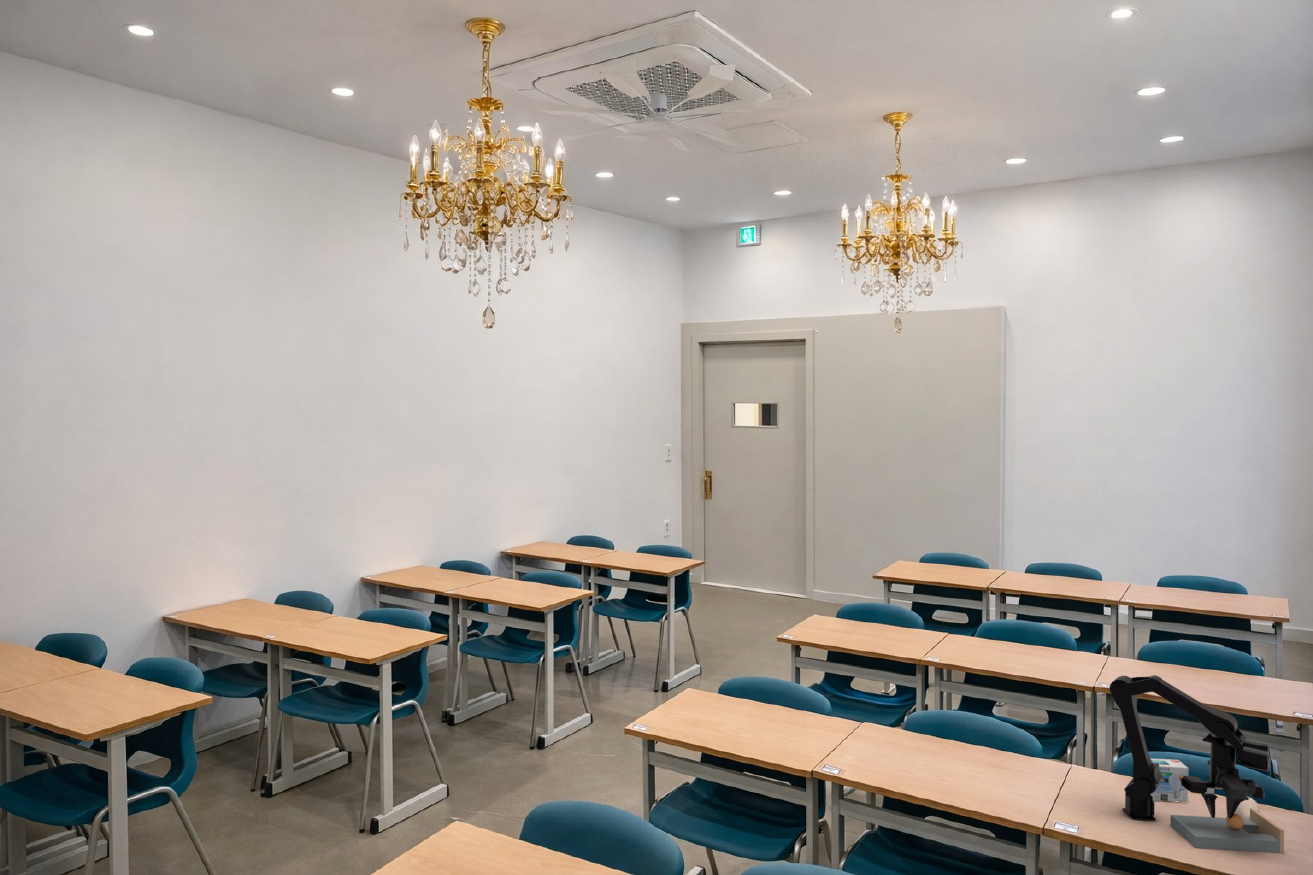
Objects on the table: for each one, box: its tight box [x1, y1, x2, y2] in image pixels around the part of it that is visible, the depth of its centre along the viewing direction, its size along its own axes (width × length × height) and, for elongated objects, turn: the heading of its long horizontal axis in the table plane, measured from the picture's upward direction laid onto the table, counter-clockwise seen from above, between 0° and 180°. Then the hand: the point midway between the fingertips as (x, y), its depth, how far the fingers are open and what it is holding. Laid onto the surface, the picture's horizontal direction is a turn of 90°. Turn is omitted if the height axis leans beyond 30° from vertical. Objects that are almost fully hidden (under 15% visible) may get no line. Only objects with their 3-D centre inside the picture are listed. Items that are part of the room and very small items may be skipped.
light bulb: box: [1235, 796, 1261, 819], centre depth 237 cm, size 7×7×11 cm
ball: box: [1225, 813, 1244, 829], centre depth 227 cm, size 4×4×4 cm
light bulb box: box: [1150, 757, 1190, 803], centre depth 253 cm, size 11×7×11 cm, turn 83°
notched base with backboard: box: [1169, 808, 1285, 854], centre depth 227 cm, size 22×13×6 cm, turn 84°
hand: (1221, 818), depth 227 cm, fingers open, 4 cm apart
